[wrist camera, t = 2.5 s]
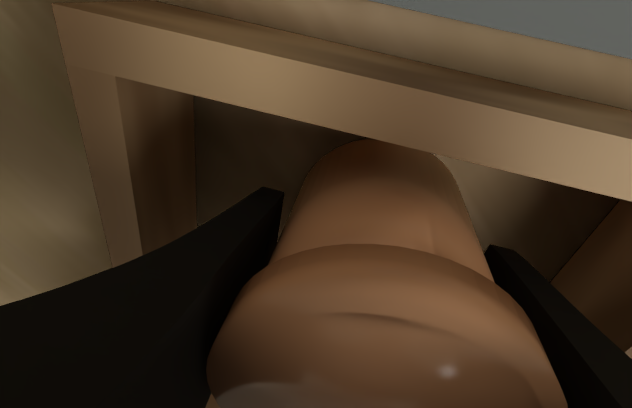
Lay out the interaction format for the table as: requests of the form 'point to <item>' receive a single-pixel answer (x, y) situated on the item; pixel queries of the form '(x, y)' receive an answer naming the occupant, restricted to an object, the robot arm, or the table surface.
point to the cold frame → (328, 111)
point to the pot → (379, 301)
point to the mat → (543, 19)
